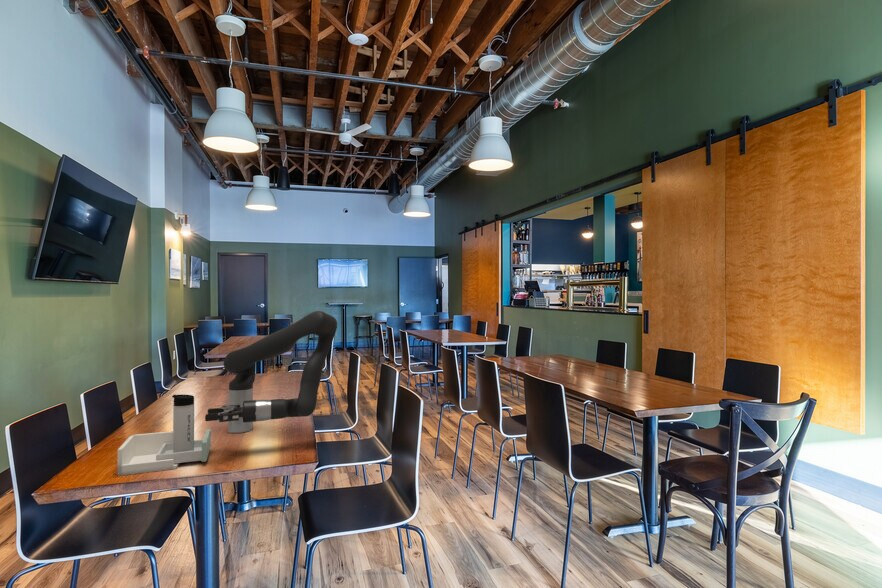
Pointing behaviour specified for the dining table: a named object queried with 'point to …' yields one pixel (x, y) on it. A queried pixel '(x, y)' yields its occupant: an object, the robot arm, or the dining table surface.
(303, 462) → the dining table surface
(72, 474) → the dining table surface
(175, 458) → the tray
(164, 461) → the dock
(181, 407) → the travel mug
